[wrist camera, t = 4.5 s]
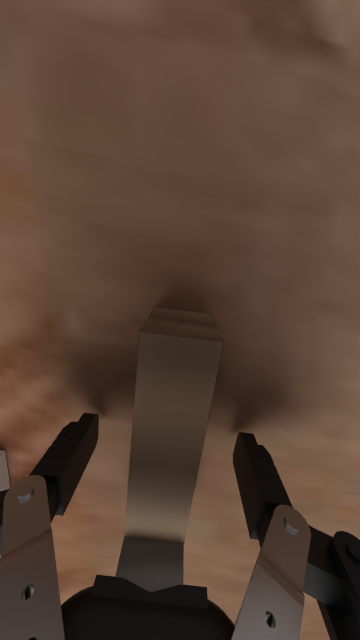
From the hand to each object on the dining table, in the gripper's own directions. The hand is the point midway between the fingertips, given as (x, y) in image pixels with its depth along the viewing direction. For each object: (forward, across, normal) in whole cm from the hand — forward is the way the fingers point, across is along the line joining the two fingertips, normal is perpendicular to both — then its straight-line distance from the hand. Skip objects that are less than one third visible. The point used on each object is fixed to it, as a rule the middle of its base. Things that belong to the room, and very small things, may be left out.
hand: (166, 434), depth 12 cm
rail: (+1, 0, 0) cm, 1 cm away
